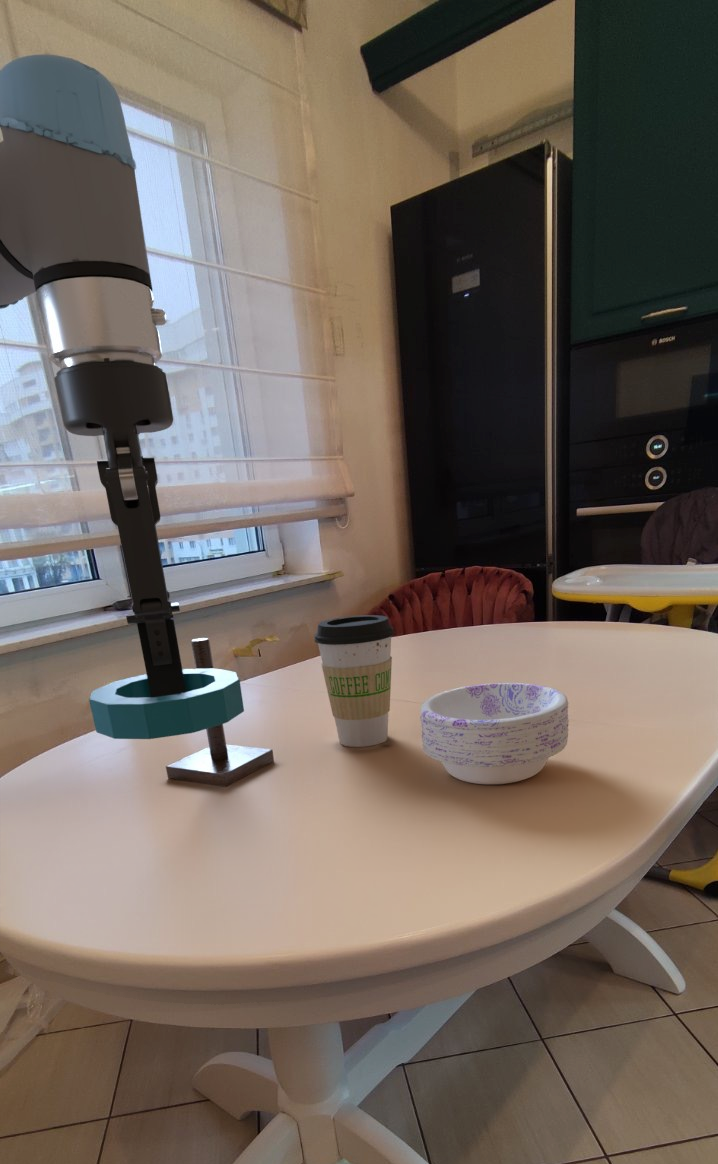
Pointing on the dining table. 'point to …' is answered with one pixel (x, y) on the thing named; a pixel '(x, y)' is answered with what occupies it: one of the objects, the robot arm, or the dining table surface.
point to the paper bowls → (495, 730)
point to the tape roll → (166, 705)
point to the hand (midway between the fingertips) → (170, 699)
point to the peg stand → (217, 746)
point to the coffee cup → (357, 676)
